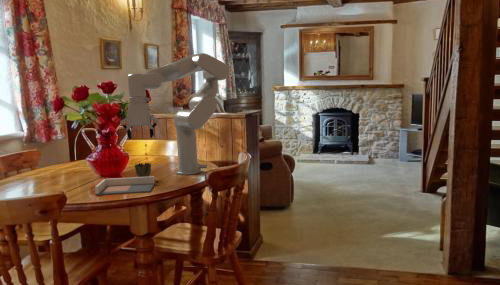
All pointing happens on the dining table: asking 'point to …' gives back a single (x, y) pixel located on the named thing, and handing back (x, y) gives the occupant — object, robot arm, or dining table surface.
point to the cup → (143, 169)
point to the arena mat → (127, 189)
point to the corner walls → (123, 182)
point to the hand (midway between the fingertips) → (140, 138)
